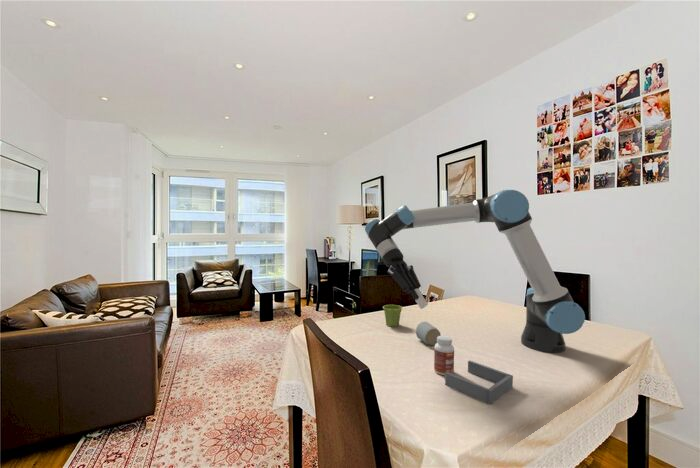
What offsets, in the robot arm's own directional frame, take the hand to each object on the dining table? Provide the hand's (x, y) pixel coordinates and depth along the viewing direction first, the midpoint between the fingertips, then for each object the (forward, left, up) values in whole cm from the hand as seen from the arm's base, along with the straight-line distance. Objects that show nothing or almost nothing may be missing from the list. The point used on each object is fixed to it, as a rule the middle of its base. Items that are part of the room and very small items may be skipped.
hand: (424, 306), depth 106 cm
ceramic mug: (-1, -21, -20) cm, 29 cm away
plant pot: (+19, -38, -20) cm, 47 cm away
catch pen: (-17, +10, -20) cm, 28 cm away
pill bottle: (-7, +4, -20) cm, 21 cm away
